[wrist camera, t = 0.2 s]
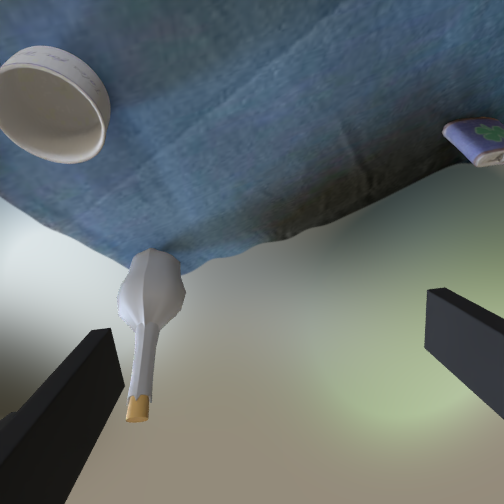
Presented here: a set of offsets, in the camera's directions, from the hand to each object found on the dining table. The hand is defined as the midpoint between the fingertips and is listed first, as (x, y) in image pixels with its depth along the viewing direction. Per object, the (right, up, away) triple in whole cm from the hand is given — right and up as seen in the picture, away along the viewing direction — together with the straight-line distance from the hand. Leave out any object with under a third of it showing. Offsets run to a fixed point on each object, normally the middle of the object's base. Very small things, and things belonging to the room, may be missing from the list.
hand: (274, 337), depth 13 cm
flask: (+33, +23, +34) cm, 53 cm away
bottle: (-20, +4, +48) cm, 52 cm away
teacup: (-24, +24, +24) cm, 41 cm away
